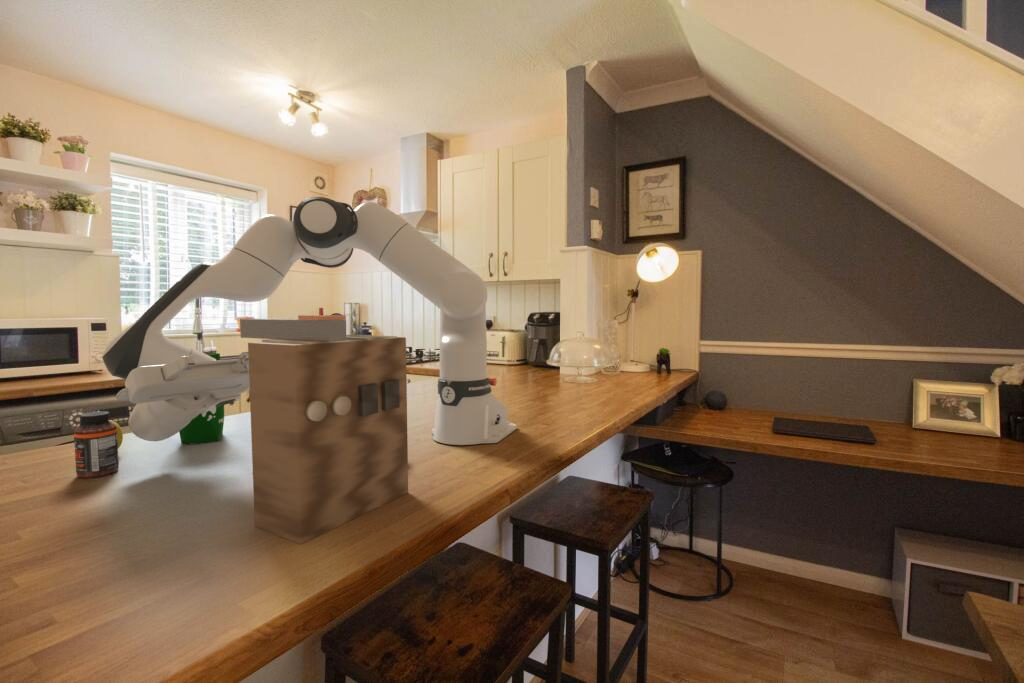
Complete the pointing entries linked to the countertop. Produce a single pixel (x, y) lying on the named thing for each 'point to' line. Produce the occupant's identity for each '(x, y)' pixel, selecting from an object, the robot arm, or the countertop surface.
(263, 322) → the paddle lever
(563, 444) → the countertop surface
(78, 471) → the supplement bottle
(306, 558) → the countertop surface
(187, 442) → the milk carton
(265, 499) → the panel block
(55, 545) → the countertop surface
